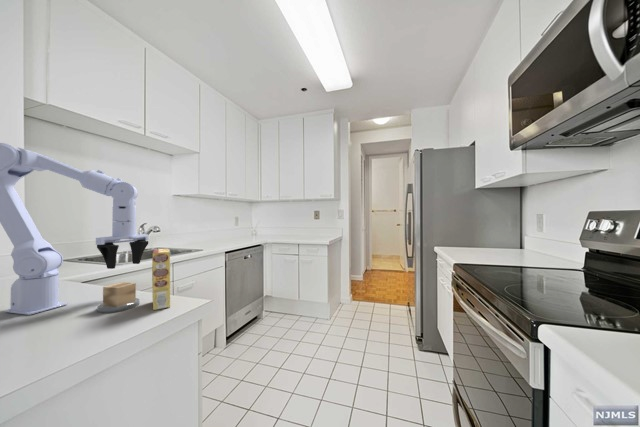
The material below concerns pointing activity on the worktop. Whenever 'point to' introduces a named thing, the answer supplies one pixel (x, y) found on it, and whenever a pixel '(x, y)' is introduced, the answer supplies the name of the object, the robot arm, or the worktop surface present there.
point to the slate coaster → (116, 309)
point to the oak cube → (119, 294)
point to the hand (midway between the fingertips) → (124, 265)
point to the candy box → (161, 278)
